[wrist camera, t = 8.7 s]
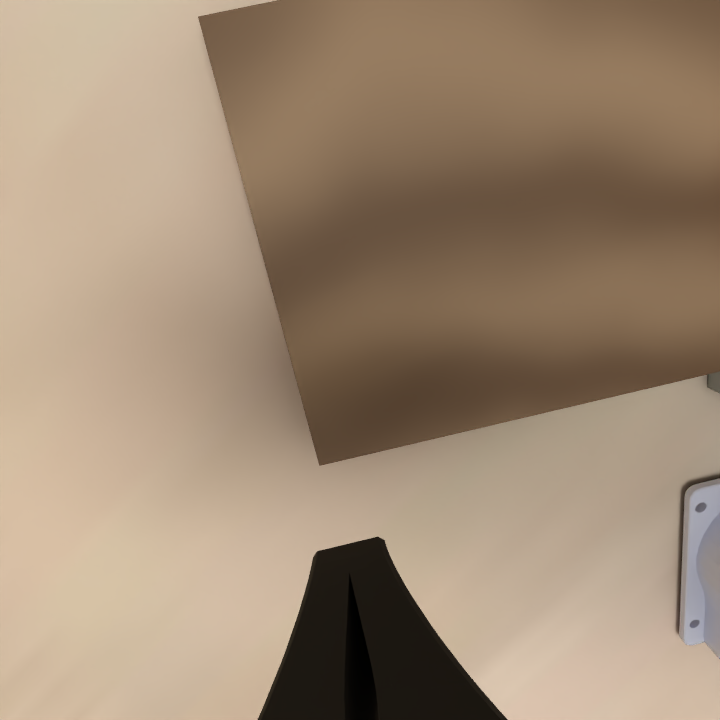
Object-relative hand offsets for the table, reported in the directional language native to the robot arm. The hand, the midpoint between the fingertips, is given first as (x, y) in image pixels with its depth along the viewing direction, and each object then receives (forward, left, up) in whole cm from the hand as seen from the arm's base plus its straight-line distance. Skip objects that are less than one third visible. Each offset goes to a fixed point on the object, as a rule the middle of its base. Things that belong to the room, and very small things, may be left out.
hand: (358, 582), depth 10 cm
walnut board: (+5, -7, -9) cm, 13 cm away
